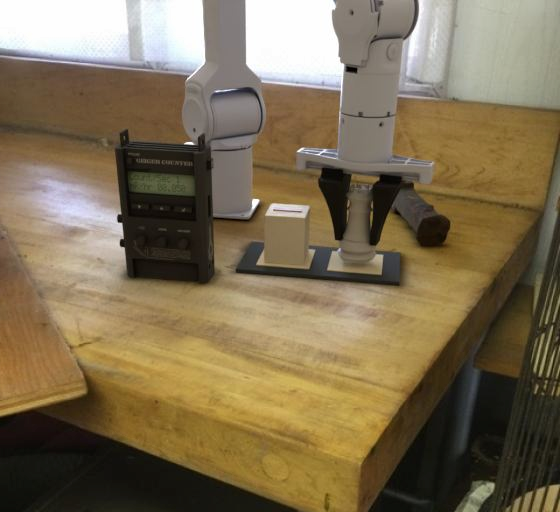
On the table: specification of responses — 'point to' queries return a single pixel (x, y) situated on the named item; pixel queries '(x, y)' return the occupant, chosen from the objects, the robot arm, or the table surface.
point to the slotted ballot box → (286, 234)
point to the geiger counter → (166, 209)
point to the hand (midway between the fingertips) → (357, 240)
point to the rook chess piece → (358, 226)
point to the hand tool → (421, 216)
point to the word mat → (326, 266)
